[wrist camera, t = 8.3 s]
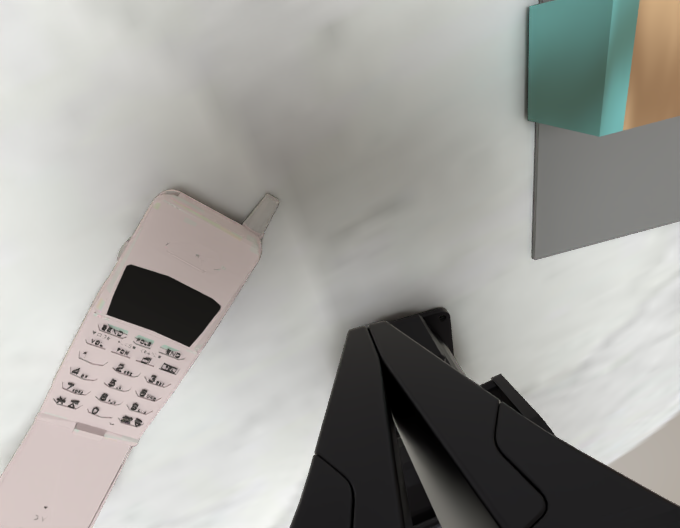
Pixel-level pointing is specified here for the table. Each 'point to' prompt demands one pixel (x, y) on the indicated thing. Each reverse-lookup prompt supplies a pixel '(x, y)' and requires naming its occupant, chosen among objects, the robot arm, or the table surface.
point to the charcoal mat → (603, 184)
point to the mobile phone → (129, 357)
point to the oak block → (603, 64)
